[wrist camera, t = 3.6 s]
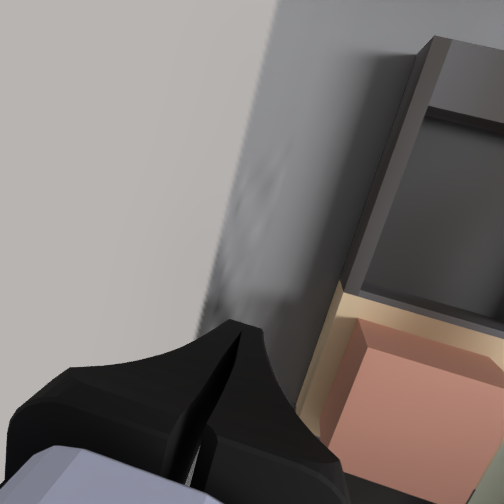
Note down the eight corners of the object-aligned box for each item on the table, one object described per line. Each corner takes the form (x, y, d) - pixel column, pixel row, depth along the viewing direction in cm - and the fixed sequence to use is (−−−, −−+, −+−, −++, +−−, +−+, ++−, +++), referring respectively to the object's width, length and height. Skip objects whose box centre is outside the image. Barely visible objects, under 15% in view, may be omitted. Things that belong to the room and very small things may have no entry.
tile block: (489, 357, 11) (527, 396, 9) (436, 458, 12) (460, 511, 10) (357, 317, 12) (368, 347, 10) (319, 419, 13) (321, 463, 11)
